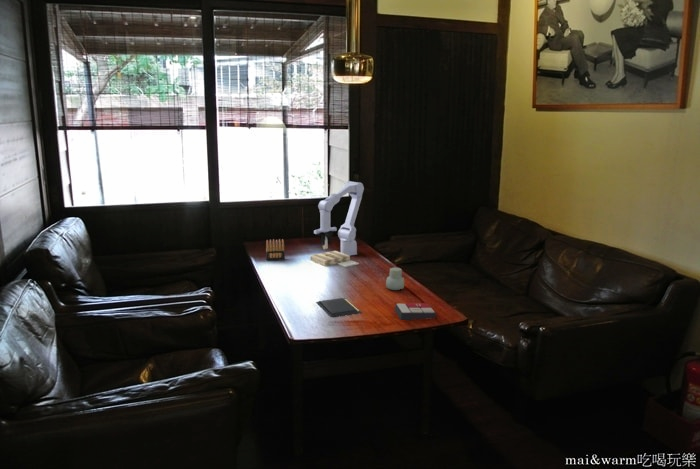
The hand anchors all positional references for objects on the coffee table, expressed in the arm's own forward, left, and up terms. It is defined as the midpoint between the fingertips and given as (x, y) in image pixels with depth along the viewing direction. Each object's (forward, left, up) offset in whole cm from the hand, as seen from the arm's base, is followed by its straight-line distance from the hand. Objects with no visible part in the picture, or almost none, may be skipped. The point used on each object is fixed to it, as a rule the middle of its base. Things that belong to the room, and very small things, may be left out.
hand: (325, 244), depth 308 cm
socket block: (-2, +3, -9) cm, 10 cm away
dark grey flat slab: (+40, +65, -10) cm, 76 cm away
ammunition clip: (+22, -18, -10) cm, 31 cm away
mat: (-6, +15, -9) cm, 18 cm away
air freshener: (+1, +61, -10) cm, 61 cm away
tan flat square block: (-2, +3, -7) cm, 8 cm away
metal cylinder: (0, 0, -3) cm, 3 cm away
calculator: (+18, +91, -10) cm, 93 cm away
